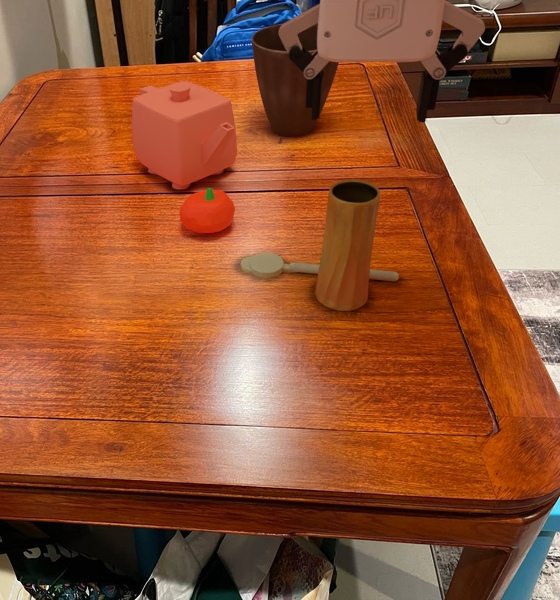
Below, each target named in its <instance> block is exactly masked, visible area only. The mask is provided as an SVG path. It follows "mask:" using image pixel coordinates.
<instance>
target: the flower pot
mask: <svg viewBox="0 0 560 600" xmlns="http://www.w3.org/2000/svg"><path fill="white" fill-rule="evenodd" d="M282 24H283V23H278V24H273V25H270V26H266V27H263V28H260V29H258V30H257V31H256V32H254V33H253V34H252V36H251V47H252V54H253V63H254V69H255V76H256V82H257V86H258V90H259V95H260V99H261V102H262V103H261V104H262V106H263V109H264V112H265V115H266V118H267V121H268V124H269V127H270V130H271V131H272V132H273V133H274V134H276V135H278V136H282V137H288V138H289V137H290V138H294V137H295V138H296V137H302V136H306V135H308V134H310V133H311V132H313V130H314V129H315V126H316V124H317V122H318V120H319V119H317V120H312V108H306V87H307V78H305V77H304V73H303V72H302V71H301V70H300V69H299V68H298V67H297V66H296V65H295V64H294V63H293V62H292V61H291V60H290V58H289V56H288V55H289V54H288V52H287V50H286V49H285V47H284V45H283V43H282V41H281V39H280V36H279V34H278V32H279V29H280V27H281V25H282ZM317 32H318V23H317V24H315V25H313V26H312V27H310V28H308V29H306V30H304V31H302V32H300V33H299V34H298V38H299V41H300V43H301V44H302V45H303V46H304V47H305V48H306V49H307V50H308V52H309V53H310V54H311V55H312V54H313V53H314V52H315V51H316V50H317ZM339 63H340V62H332V61H329V62H328V63H327V64H326V65H325V67H324V68H323V69H322V71H324V78H323V93H322V107H321V113H320V115H321V114H322V112H323V109H324V106H325V104H326V102H327V99H328V97H329V94H330V91H331V90H332V86H333V83H334V79H335V77H336V74H337V70H338V67H339Z"/></svg>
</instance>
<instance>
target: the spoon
mask: <svg viewBox="0 0 560 600" xmlns="http://www.w3.org/2000/svg"><path fill="white" fill-rule="evenodd" d="M319 265H320V263H319V264H318V263H309V262H308V263H307V262H297V261H292V262H290V263H285V262H284V259H283V258H282V257H281V256H280V255H278V254H276V253H273V252H260V253H256V254H254V255H249V256H245V257H244V258H242V259H241V261H240V269H241V270H242V271H243V272H245V273H247V274H252V275H253V276H256V277H258V278H264V279H269V278H275V277H277V276H279V275H281V274H282V273H284V272H286V273H294V274H297V273H304V274H315V275H318V272H319ZM399 278H400V273H398V272H397V271H390V270H381V269H372V268H370V274H369V280H373V281H374V280H375V281H386V282H397V281H398V280H399Z"/></svg>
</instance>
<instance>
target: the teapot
mask: <svg viewBox="0 0 560 600" xmlns="http://www.w3.org/2000/svg"><path fill="white" fill-rule="evenodd" d="M138 92H139V95H137V96H135V97H133V98H132V103H131V104H132V107H131V110H132V111H131V138H132V139H131V140H132V148H133V151H134V156H135V157H136V159H137V161H138V162H139V163H141V164H142V165H143V166H144V167H145V168H147V169H148V170H147V172H148V173H149V174H151V175H158V176H159V177H161V178H163V179H165V180H167V181H168V182H171V184H172V185H171V187H172V188H173V189H174V190H185V189H188V188H189V187H190V186H191V184H192V183H195V182H197V181H199V180H202V179H204V178H206V177H210V176H211V175H213V176H217V175H220V174H222V173H224V169H225V170H226V169H227V168H229V167H231V166H233V165H234V164H235V163H236V159H237V155H238V142H237V130H236V121H235V116H234V110H233V106H232V101H231V99H229V98H227V97H226V96H224V95H222V94H221V93H218V92H217V91H214V90H211V89H209V88H207V87H205V86H202V85H199V84H196V83H195V82H190V81H187V80H180V81H177V82H174V83H171V84H167V85H165V86H161V87H160V88H159V87H157V86H154V85H151V84H150V85H146V86H143V87H141V88H139V91H138Z"/></svg>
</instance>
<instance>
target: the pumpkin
mask: <svg viewBox="0 0 560 600" xmlns="http://www.w3.org/2000/svg"><path fill="white" fill-rule="evenodd" d="M235 211H236V205H235V204H234V201H233V200H232V198H231V197H230V196H229V195H228V194H227V193H226V192H225V191H223V190H222V189H213V188H212V187H211V188H209V187H207V188H206V189H204V190H201V191H197V192H194V193H192V194H190V195H189V196H187V197H186V199H185V200H184V202H183V203H182V205H181V206H180V209H179V221H180V222H181V224H182V225H183V226H184V227H185V228H186V229H187V230H189V231H192V232H194V233H197V234H214V233H219V232H222V231H224V230H226V229H227V228H228V227H229V226H231V225H232V222H233V221H234V216H235Z"/></svg>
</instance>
